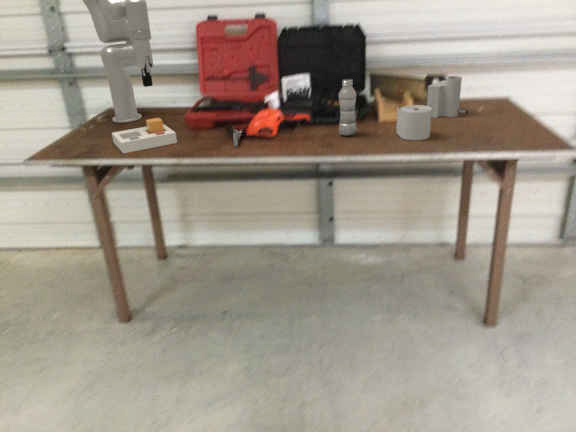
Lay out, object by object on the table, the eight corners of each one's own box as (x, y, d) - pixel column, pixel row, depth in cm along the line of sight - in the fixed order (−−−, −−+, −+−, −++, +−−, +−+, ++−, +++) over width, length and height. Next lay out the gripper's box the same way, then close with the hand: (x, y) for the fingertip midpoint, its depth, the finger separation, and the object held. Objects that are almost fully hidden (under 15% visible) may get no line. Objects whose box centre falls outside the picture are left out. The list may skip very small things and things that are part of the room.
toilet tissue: (429, 141, 177) (431, 112, 173) (394, 140, 180) (395, 112, 176) (429, 132, 186) (431, 104, 182) (396, 131, 189) (397, 104, 185)
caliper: (237, 148, 183) (235, 131, 180) (234, 148, 183) (232, 131, 180) (246, 131, 201) (245, 115, 198) (243, 131, 201) (242, 115, 198)
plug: (149, 140, 197) (145, 119, 193) (162, 137, 199) (158, 117, 195) (152, 143, 193) (149, 122, 189) (165, 140, 195) (162, 120, 191)
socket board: (113, 142, 196) (111, 131, 194) (164, 133, 204) (162, 121, 202) (123, 153, 183) (120, 141, 181) (177, 142, 191) (175, 130, 189)
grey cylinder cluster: (441, 109, 214) (444, 72, 207) (473, 114, 205) (477, 76, 198) (426, 116, 206) (428, 78, 200) (458, 121, 197) (462, 81, 190)
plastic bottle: (358, 132, 190) (359, 78, 182) (353, 138, 185) (353, 82, 176) (342, 131, 193) (342, 77, 184) (336, 136, 187) (335, 81, 179)
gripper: (125, 33, 190) (133, 83, 199) (135, 39, 178) (143, 91, 187) (145, 31, 193) (152, 80, 202) (156, 37, 181) (163, 88, 190)
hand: (147, 85), depth 194 cm, fingers closed
